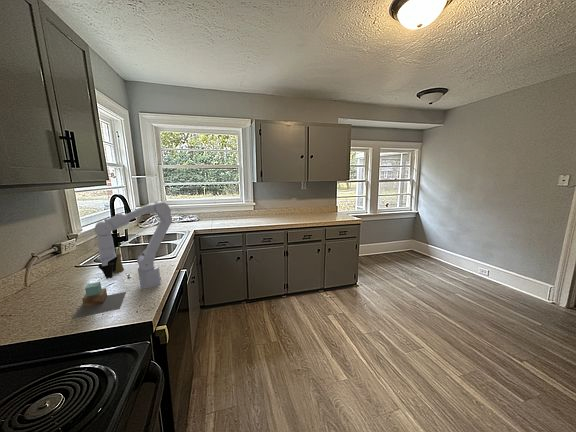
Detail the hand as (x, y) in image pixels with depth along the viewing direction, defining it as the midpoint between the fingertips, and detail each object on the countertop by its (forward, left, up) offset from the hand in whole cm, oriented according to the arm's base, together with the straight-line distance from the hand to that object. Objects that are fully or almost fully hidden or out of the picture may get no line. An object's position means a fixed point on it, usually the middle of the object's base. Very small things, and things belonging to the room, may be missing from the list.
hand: (111, 274), depth 113 cm
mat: (+3, +9, -10) cm, 14 cm away
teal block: (+6, +5, -6) cm, 10 cm away
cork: (+4, -31, -10) cm, 33 cm away
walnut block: (+6, +5, -10) cm, 12 cm away
